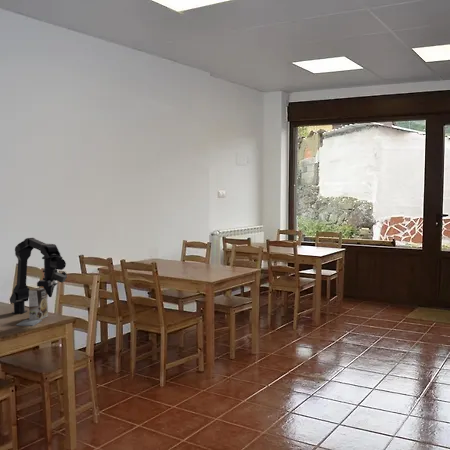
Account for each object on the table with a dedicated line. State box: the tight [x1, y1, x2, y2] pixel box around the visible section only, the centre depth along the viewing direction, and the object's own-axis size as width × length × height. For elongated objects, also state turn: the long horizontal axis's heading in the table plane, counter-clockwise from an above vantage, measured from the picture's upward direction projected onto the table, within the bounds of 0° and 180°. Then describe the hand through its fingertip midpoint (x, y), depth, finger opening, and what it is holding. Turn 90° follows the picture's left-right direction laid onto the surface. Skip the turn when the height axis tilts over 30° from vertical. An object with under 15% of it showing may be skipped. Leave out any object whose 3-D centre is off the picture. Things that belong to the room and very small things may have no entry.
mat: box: [15, 319, 43, 327], centre depth 283 cm, size 11×9×1 cm
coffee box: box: [28, 287, 49, 320], centre depth 294 cm, size 9×6×16 cm
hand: (50, 297), depth 289 cm, fingers closed
